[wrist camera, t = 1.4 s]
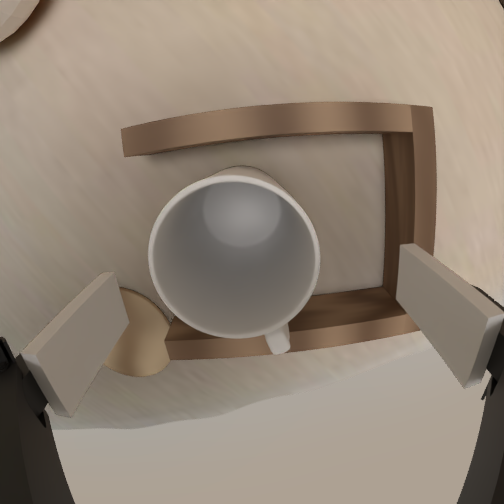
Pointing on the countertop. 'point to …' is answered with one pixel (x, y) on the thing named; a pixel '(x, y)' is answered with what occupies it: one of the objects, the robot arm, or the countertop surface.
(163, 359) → the coaster
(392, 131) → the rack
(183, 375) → the countertop surface
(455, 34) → the countertop surface
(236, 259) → the mug
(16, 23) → the white bowl
